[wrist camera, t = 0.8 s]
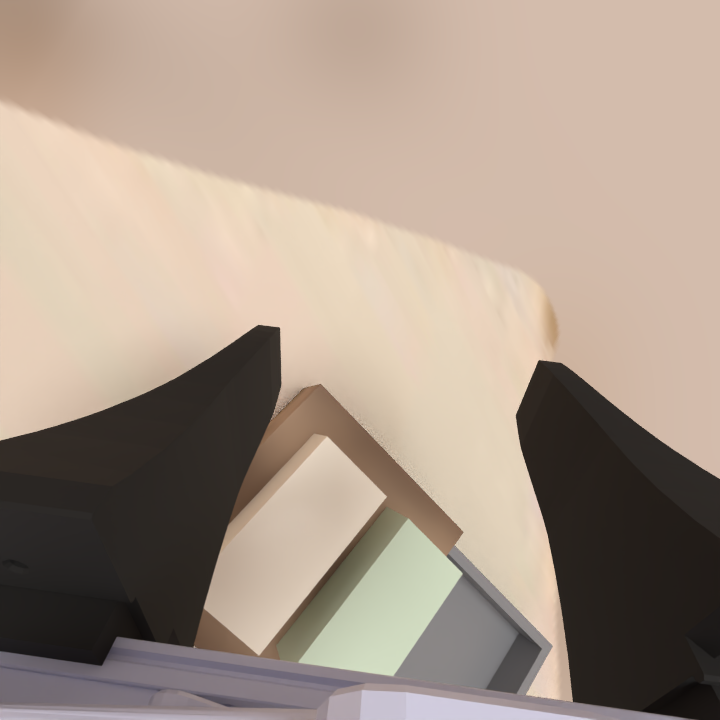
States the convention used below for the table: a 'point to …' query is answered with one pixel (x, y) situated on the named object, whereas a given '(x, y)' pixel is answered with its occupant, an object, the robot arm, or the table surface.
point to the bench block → (329, 418)
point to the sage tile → (374, 601)
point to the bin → (477, 639)
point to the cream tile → (288, 540)
